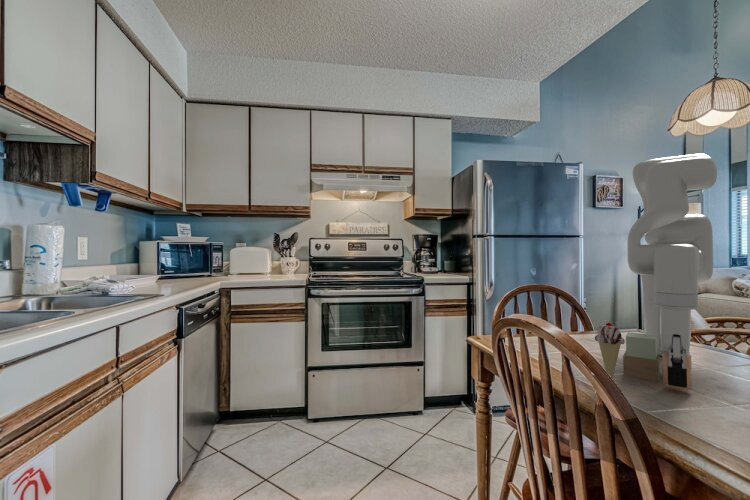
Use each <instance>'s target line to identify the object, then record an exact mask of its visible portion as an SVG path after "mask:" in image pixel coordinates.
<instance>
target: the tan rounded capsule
mask: <svg viewBox="0 0 750 500" xmlns="http://www.w3.org/2000/svg"><path fill="white" fill-rule="evenodd" d="M671 352H672V353H673V351H671ZM668 353H669V351H664V353H663V352H662V356H661V357H662V359H661V360H662V384H663V386H665V387H667V388H671V389H675V390H679V391H681V390H682V391H690V390H692V389H693V369H692V368H693V367H692V355H691V354H690V355H689V354H688V355H685V369H687V387H686V388H684V387H678V386H672V385H669V384H668V366H669V354H668ZM680 354H683V353H681V352H680ZM672 357H673V356H672ZM681 358H682V357H681Z"/></svg>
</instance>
